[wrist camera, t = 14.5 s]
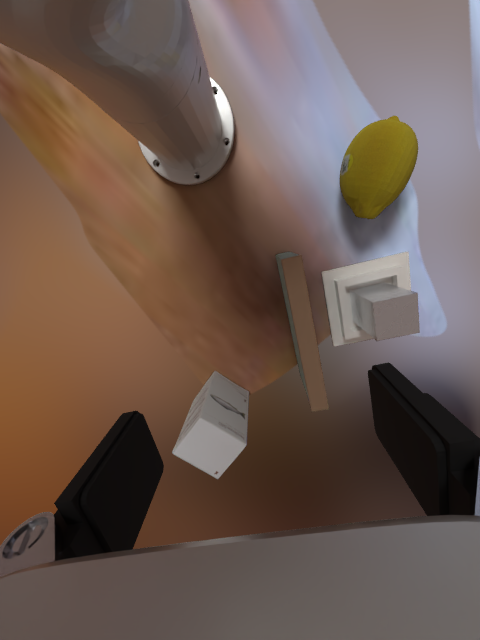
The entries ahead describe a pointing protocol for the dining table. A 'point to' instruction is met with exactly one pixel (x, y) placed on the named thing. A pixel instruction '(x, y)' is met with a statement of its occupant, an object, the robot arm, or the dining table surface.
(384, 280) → the cradle
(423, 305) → the dining table surface
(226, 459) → the supplement box
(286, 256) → the door board
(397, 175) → the lemon
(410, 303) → the block
